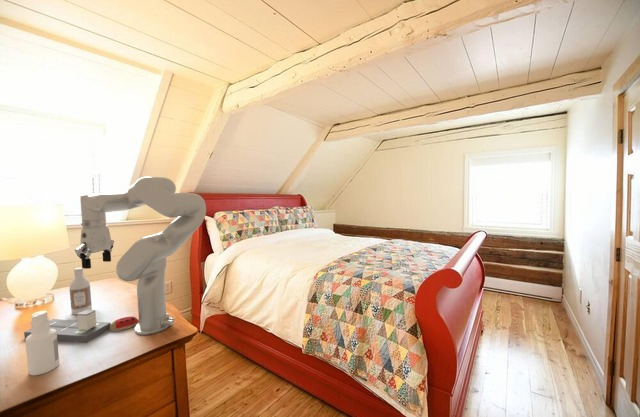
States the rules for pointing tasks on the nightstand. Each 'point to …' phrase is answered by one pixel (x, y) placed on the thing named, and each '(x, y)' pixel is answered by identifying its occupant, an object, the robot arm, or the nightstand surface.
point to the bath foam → (80, 292)
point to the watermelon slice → (124, 323)
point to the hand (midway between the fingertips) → (97, 264)
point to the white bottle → (41, 345)
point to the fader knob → (86, 319)
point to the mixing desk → (75, 330)
